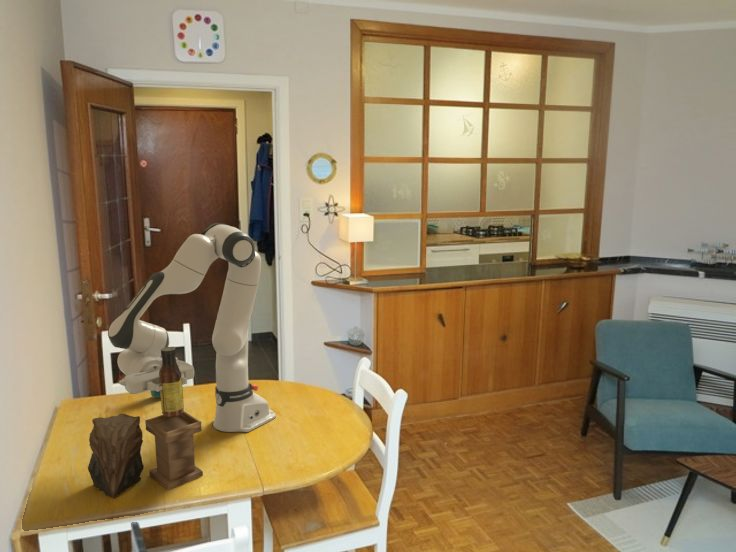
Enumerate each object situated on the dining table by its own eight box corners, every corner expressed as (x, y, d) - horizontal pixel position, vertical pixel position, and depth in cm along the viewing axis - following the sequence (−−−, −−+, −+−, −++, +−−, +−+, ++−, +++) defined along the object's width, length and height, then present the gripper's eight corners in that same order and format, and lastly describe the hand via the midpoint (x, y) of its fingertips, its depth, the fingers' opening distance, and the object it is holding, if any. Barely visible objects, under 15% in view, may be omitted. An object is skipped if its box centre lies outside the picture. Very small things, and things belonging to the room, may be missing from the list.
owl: (87, 484, 172) (81, 420, 168) (126, 466, 182) (122, 405, 178) (112, 499, 165) (106, 432, 161) (151, 480, 175) (147, 416, 171)
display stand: (183, 461, 186) (180, 409, 182) (203, 476, 178) (201, 421, 174) (148, 474, 178) (145, 420, 175) (168, 490, 170) (165, 433, 166)
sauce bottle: (188, 412, 175) (186, 348, 171) (171, 420, 170) (168, 353, 166) (173, 407, 178) (170, 344, 174) (156, 414, 173) (152, 349, 169)
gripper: (115, 370, 173) (137, 384, 164) (180, 355, 187) (203, 366, 178) (116, 391, 174) (138, 405, 165) (181, 374, 189) (204, 386, 179)
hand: (172, 385), depth 172 cm, fingers closed on sauce bottle, 6 cm apart
